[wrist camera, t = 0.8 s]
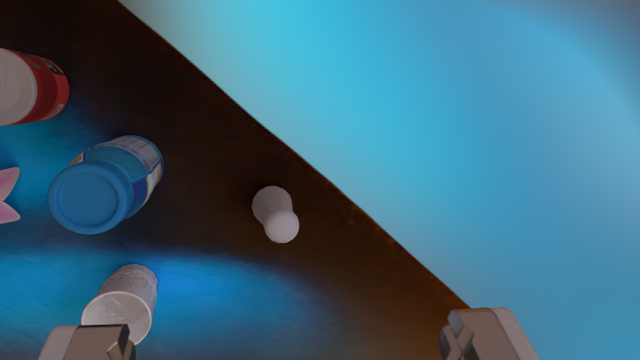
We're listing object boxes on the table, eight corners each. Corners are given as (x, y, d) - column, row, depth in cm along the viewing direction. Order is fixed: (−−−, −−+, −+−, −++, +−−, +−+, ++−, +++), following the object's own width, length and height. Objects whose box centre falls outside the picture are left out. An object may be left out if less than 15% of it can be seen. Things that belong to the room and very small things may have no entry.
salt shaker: (244, 211, 61) (250, 241, 49) (260, 176, 60) (270, 198, 48) (280, 225, 63) (294, 257, 50) (295, 191, 62) (314, 215, 50)
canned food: (73, 62, 52) (36, 53, 41) (70, 124, 53) (33, 131, 43) (4, 50, 50) (-54, 38, 40) (2, 115, 51) (-55, 120, 41)
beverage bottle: (157, 128, 56) (124, 146, 37) (172, 187, 58) (147, 233, 39) (91, 139, 54) (20, 164, 35) (108, 200, 56) (50, 254, 37)
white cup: (145, 318, 61) (131, 359, 51) (93, 296, 58) (68, 335, 49) (172, 274, 60) (163, 307, 51) (121, 250, 58) (101, 280, 48)
